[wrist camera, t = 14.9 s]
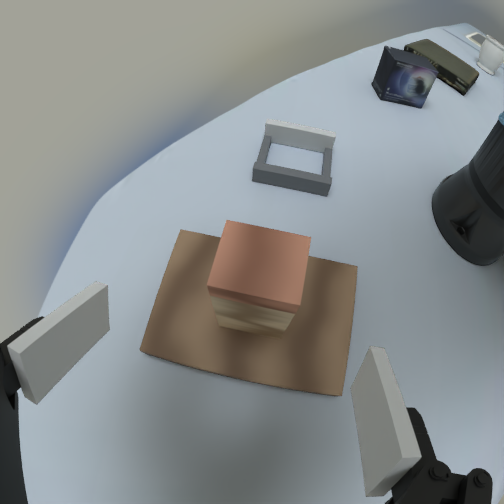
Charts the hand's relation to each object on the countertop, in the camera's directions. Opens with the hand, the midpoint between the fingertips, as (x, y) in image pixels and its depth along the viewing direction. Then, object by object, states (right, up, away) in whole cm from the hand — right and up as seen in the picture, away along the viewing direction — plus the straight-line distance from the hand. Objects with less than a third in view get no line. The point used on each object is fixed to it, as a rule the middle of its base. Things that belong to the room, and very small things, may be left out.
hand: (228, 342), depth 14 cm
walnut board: (+1, -2, +18) cm, 18 cm away
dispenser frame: (+7, +17, +28) cm, 33 cm away
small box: (+32, +37, +39) cm, 62 cm away
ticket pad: (+1, -1, +16) cm, 16 cm away
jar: (+93, +76, +61) cm, 135 cm away
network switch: (+58, +58, +52) cm, 97 cm away
